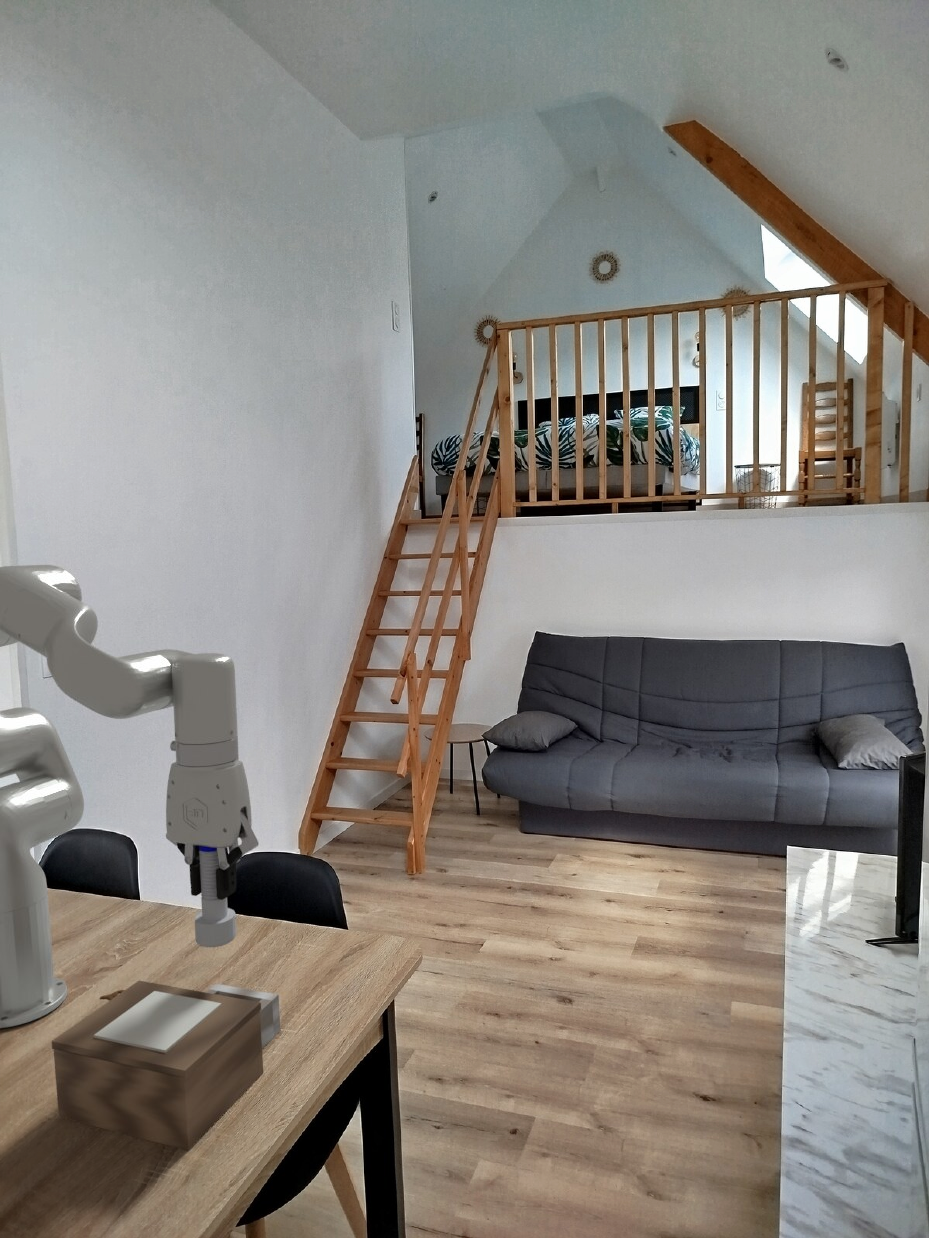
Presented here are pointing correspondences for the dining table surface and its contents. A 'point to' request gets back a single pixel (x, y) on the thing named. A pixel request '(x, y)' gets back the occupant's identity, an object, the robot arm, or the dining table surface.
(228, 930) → the bolt
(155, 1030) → the lid mat
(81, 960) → the dining table surface
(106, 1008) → the wooden box
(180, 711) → the robot arm
